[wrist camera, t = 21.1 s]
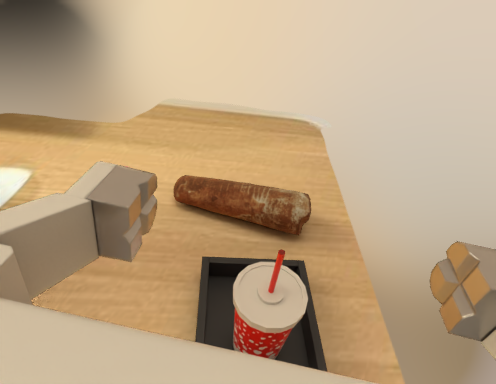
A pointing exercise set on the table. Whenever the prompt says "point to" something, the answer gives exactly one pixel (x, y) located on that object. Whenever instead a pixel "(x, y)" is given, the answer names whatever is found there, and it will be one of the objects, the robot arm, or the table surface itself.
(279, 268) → the beverage cup
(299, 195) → the bread
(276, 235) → the table surface
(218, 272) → the tray
